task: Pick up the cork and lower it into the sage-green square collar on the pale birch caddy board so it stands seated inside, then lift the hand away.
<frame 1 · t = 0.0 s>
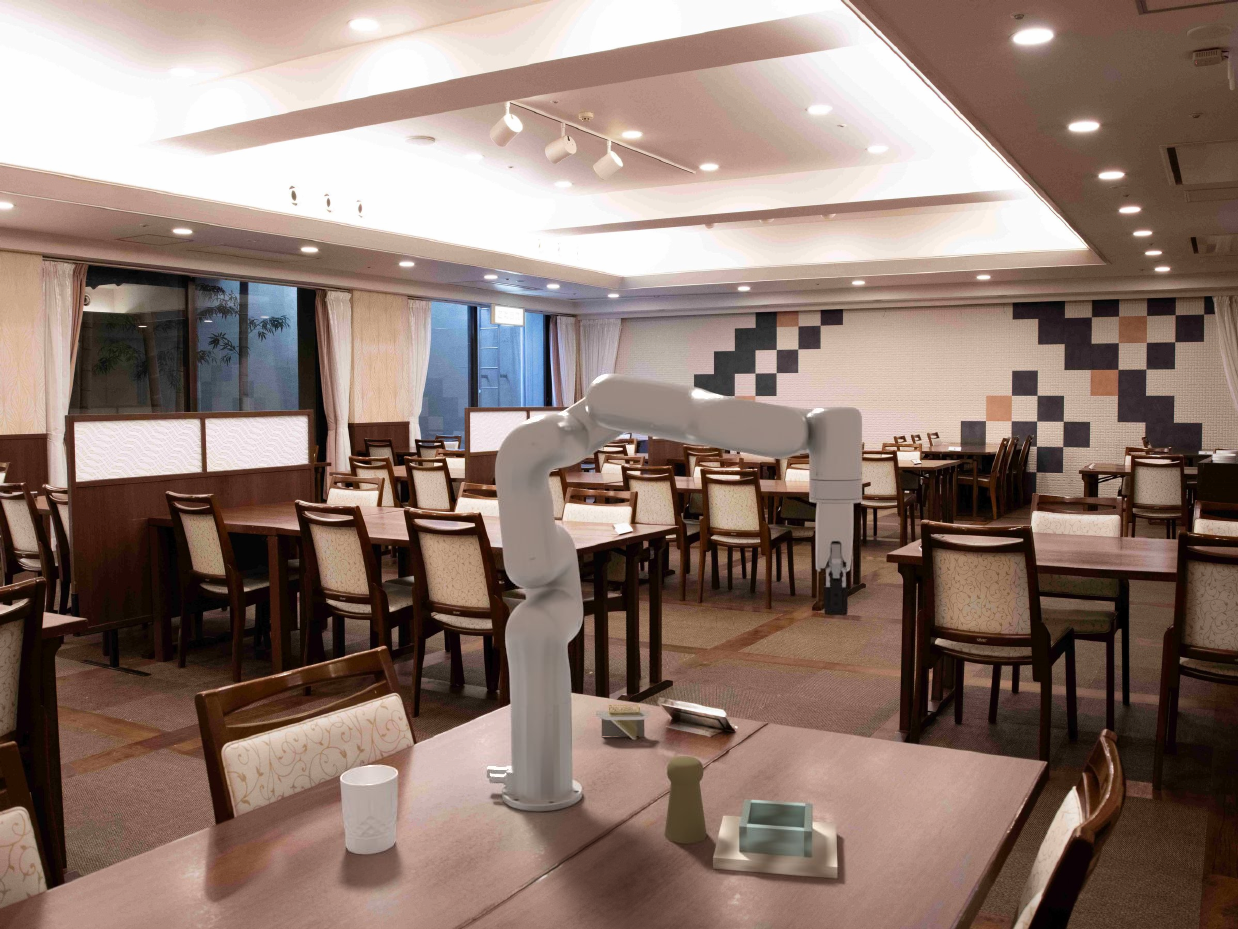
hand: (835, 608, 147), 31 cm above the table, fingers open, 9 cm apart
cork: (685, 836, 143), on the table
platform: (623, 741, 186), on the table
shaker caddy: (776, 850, 138), on the table
white cup: (371, 846, 141), on the table
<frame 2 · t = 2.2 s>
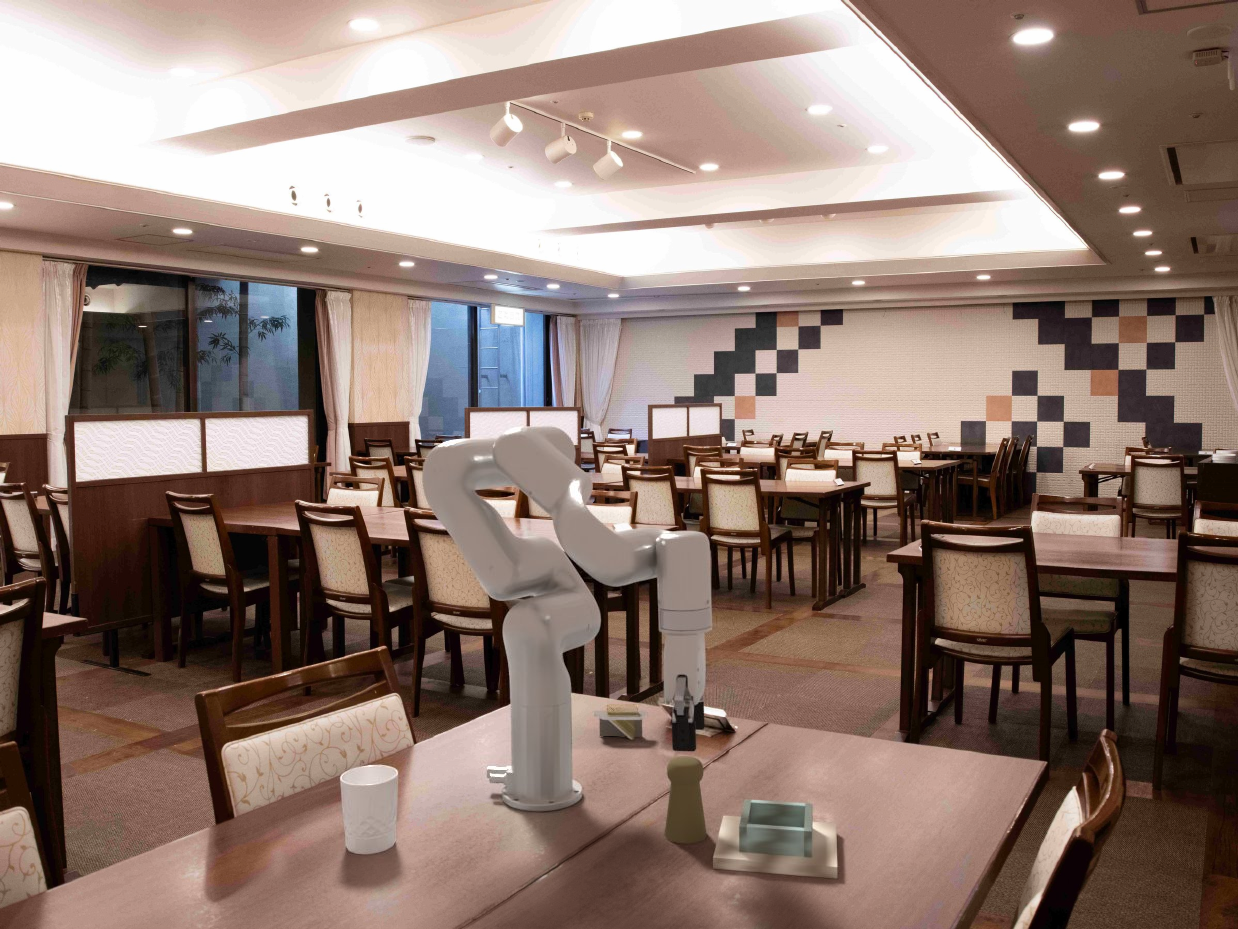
hand: (689, 739, 142), 14 cm above the table, fingers open, 9 cm apart
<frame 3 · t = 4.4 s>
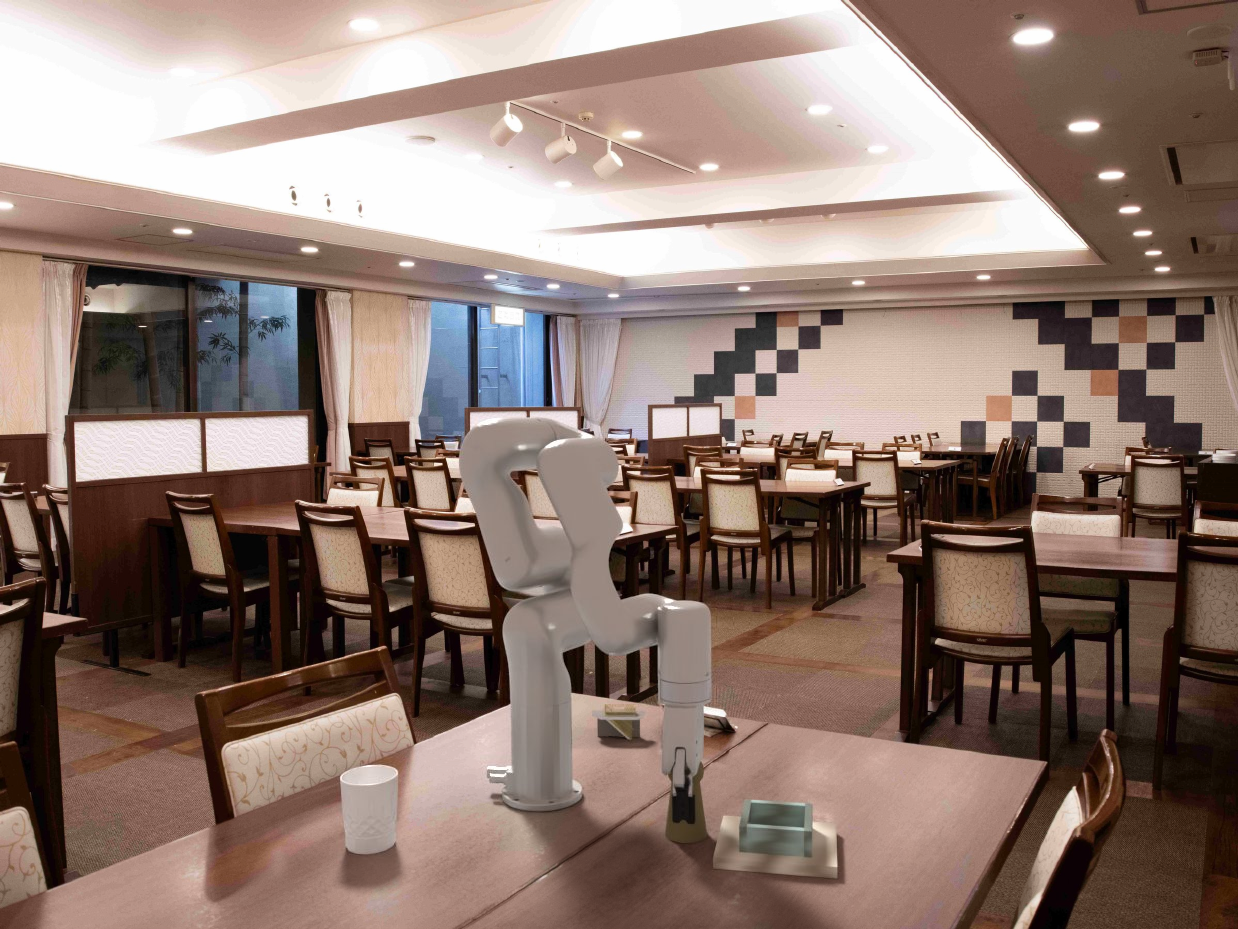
hand: (685, 815, 143), 3 cm above the table, fingers closed on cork, 3 cm apart
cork: (686, 835, 143), on the table, touching gripper
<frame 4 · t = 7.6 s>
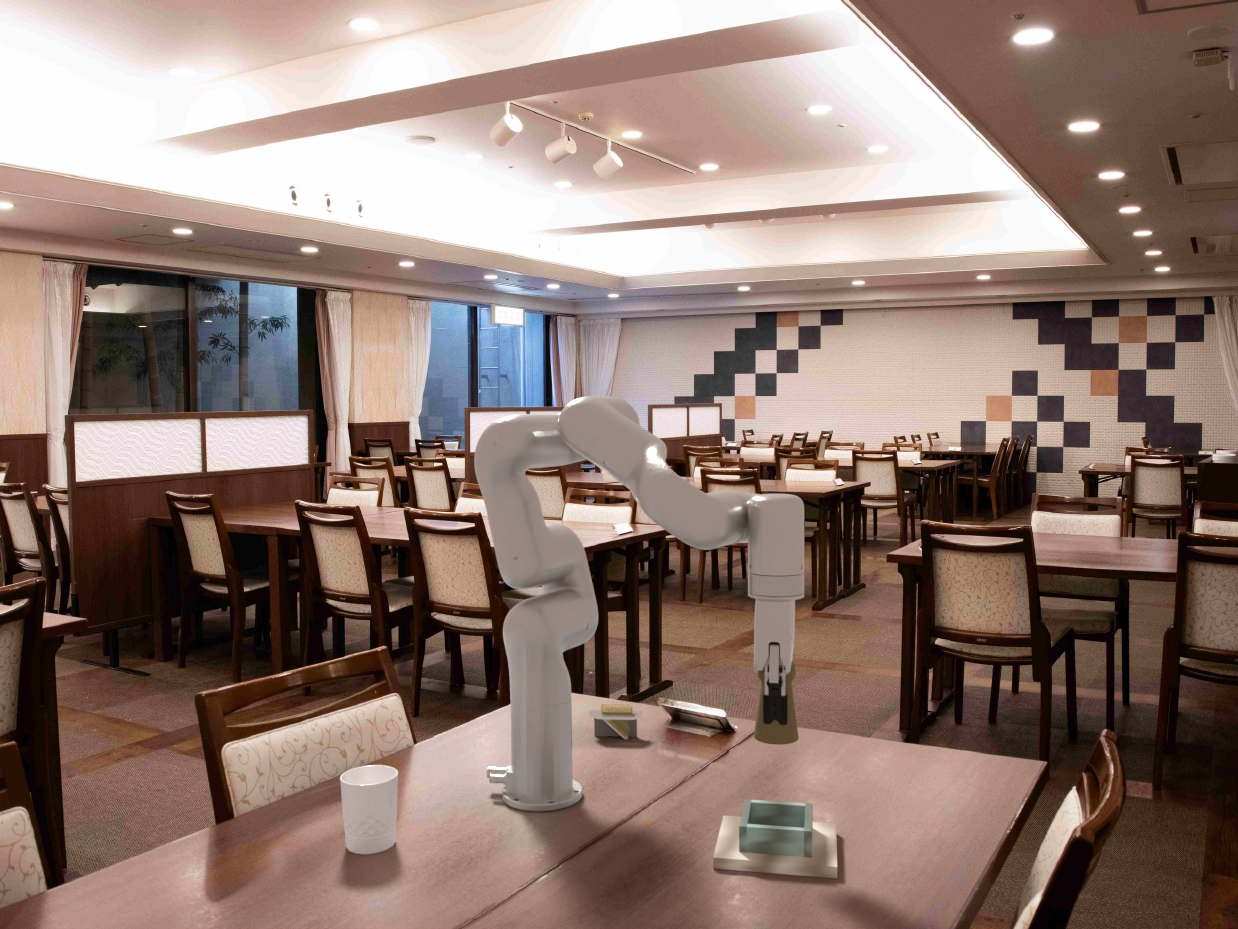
hand: (776, 717, 137), 18 cm above the table, fingers closed on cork, 3 cm apart
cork: (776, 738, 137), point 15 cm above the table, touching gripper
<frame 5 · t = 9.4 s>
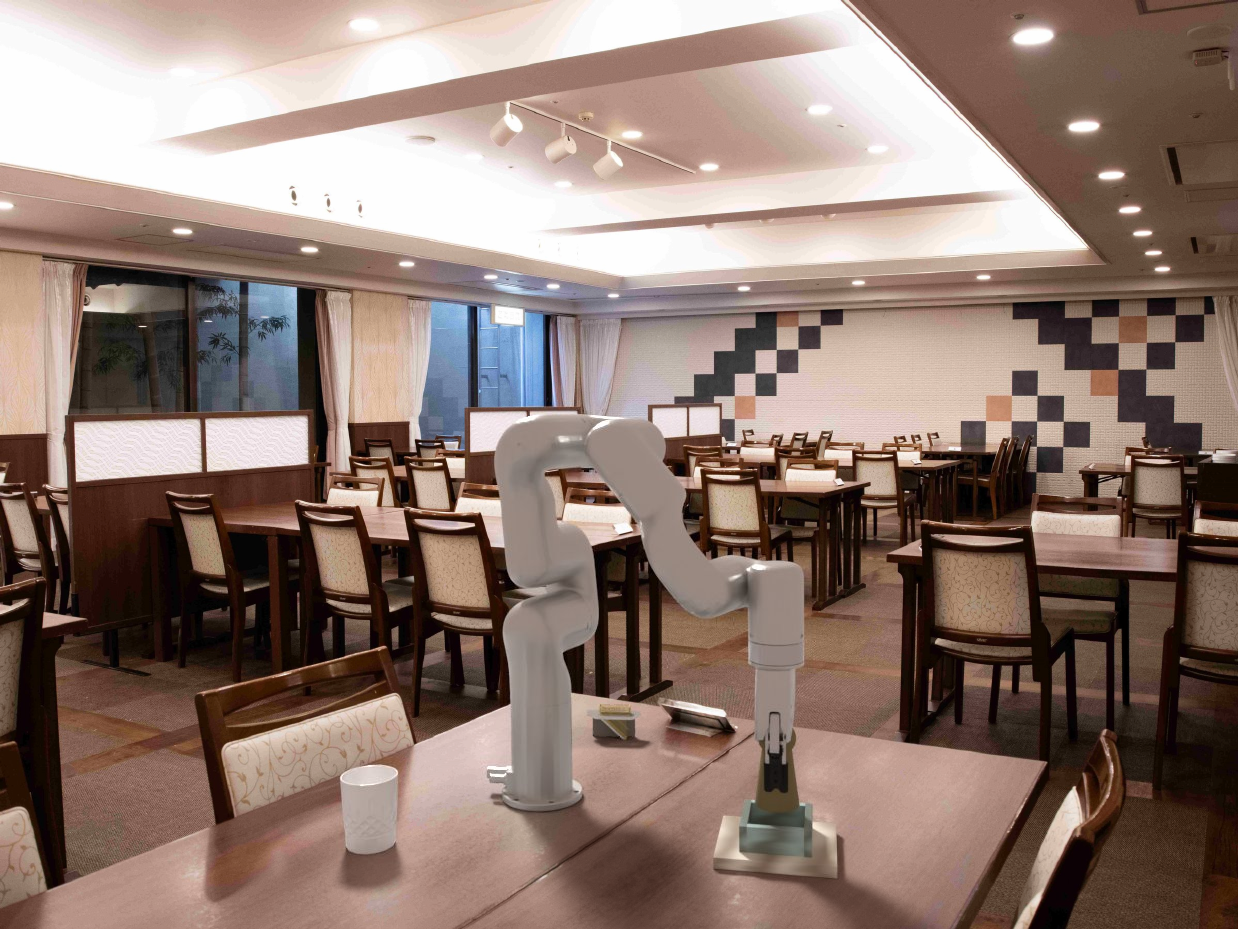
hand: (776, 784, 137), 9 cm above the table, fingers closed on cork, 3 cm apart
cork: (777, 805, 137), point 6 cm above the table, touching gripper
when the fingers open (7 cm above the table, at t = 10.8 s): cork drops 2 cm, resting on shaker caddy.
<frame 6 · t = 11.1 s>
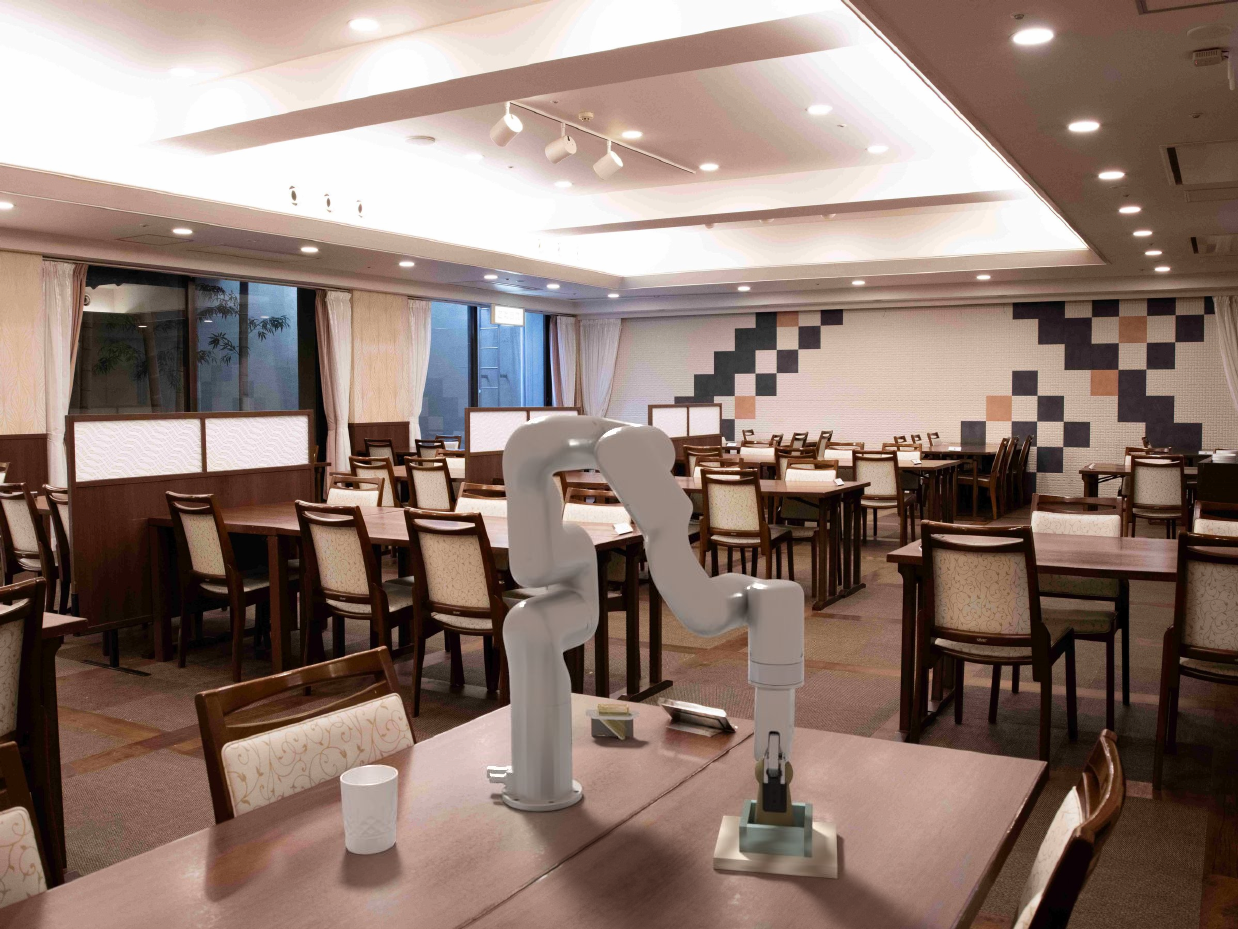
hand: (775, 800, 137), 7 cm above the table, fingers open, 6 cm apart
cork: (774, 839, 138), point 1 cm above the table, touching gripper, shaker caddy
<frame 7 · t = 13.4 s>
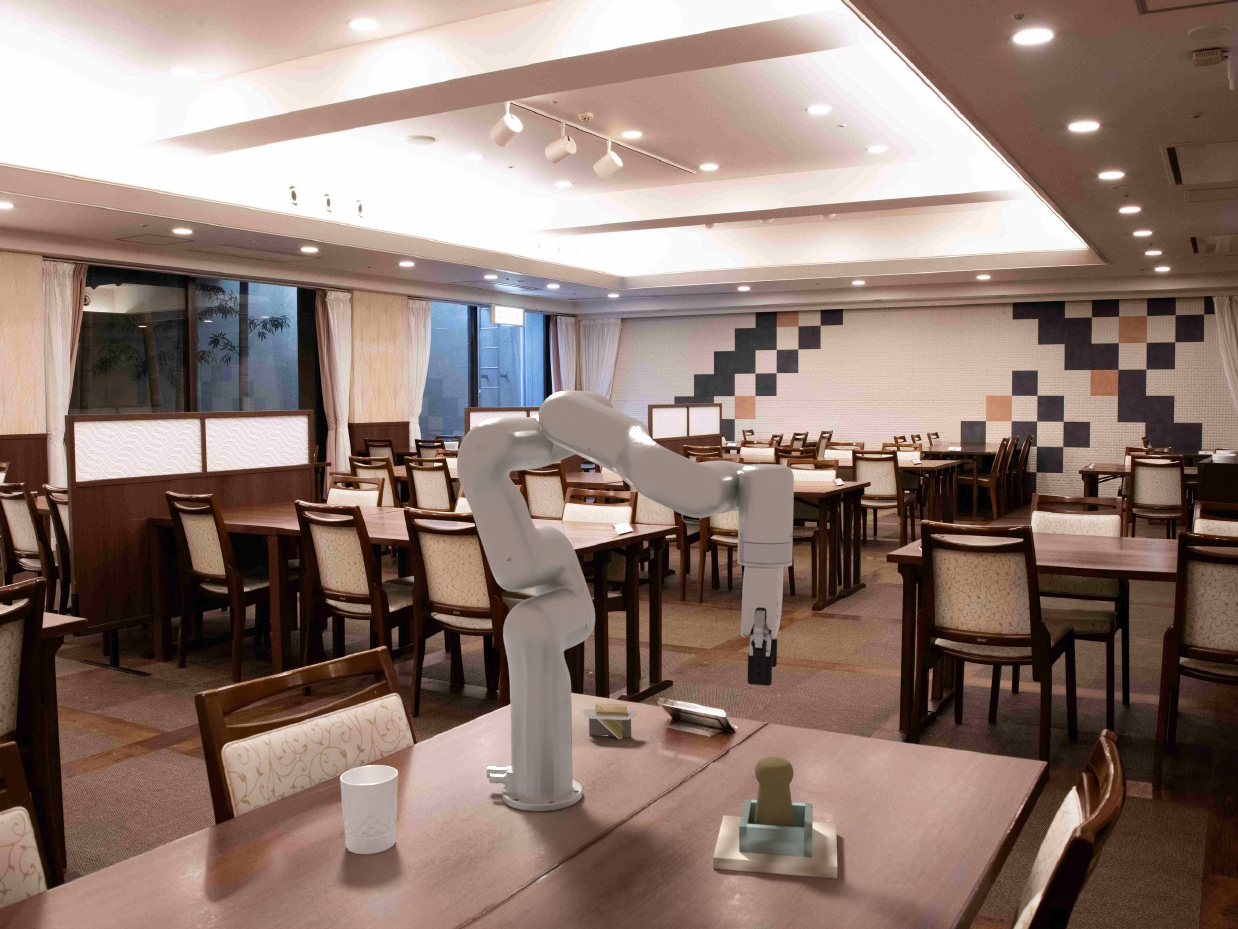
hand: (762, 675, 140), 23 cm above the table, fingers open, 9 cm apart
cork: (774, 839, 138), point 1 cm above the table, touching shaker caddy
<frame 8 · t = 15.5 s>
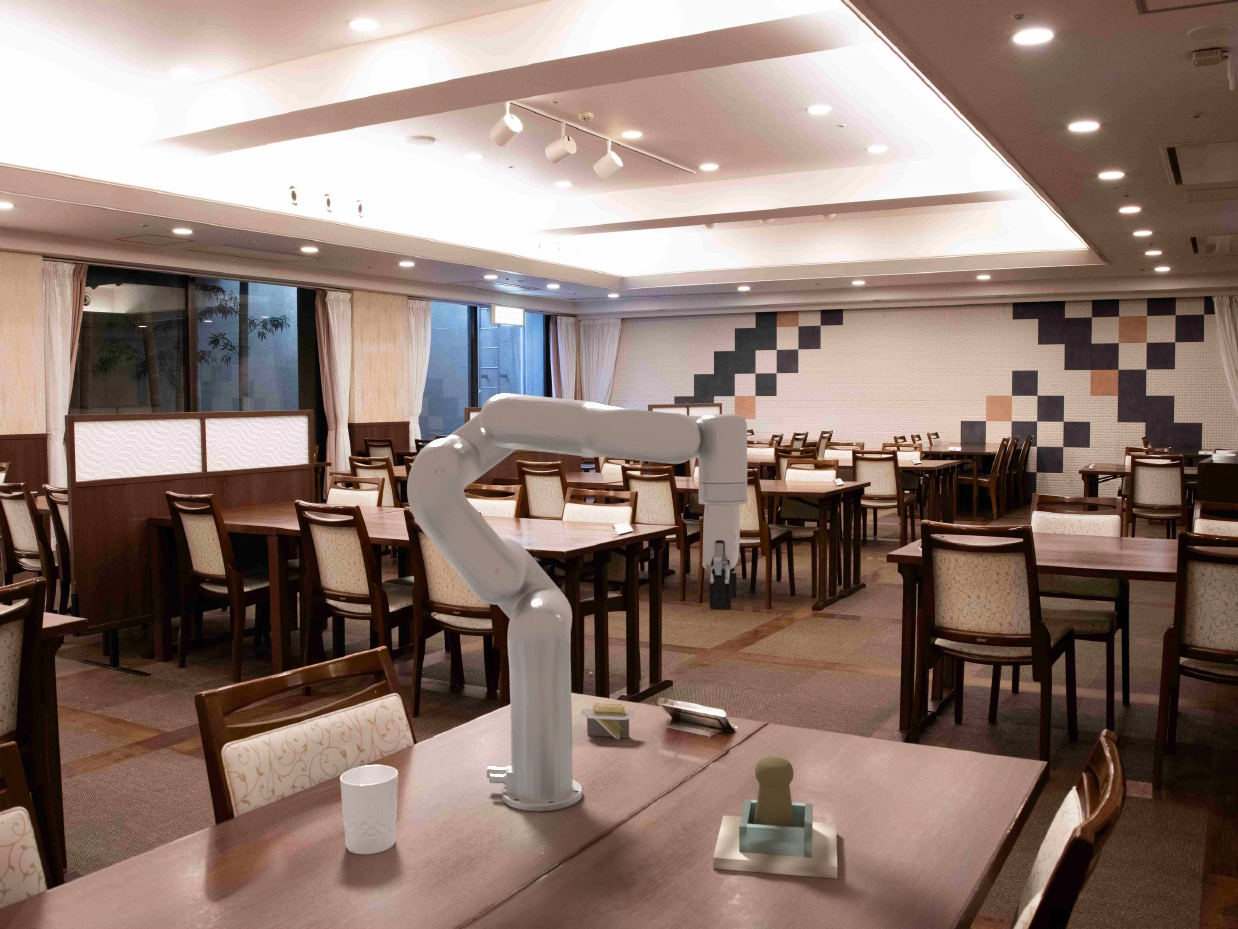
hand: (723, 603, 156), 30 cm above the table, fingers open, 9 cm apart
at the end: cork 0.5 cm off-centre on the shaker caddy, point 1.3 cm above the shaker caddy's base; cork tilted 0°; the gripper is holding nothing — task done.
